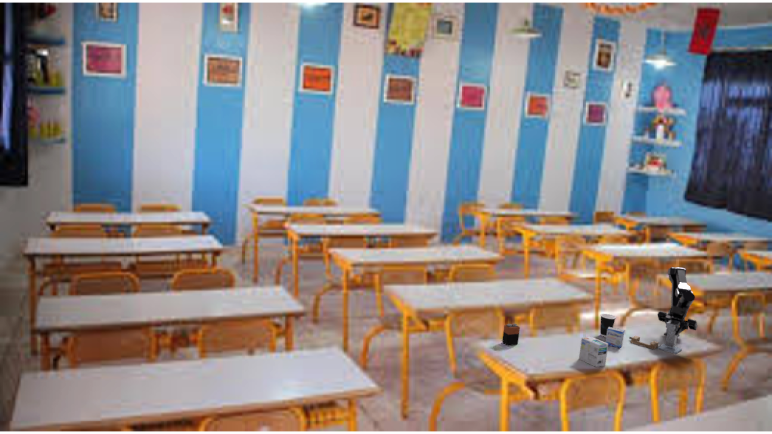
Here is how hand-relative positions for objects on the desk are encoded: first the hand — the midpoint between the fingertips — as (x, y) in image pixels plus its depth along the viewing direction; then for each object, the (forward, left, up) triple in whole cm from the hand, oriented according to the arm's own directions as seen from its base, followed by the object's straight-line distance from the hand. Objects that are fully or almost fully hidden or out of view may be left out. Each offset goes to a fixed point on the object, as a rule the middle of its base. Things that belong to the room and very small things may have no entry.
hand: (671, 334), depth 332 cm
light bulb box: (+52, -18, -9) cm, 56 cm away
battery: (+63, -56, -9) cm, 85 cm away
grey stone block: (+1, 0, -7) cm, 7 cm away
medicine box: (+19, -21, -9) cm, 30 cm away
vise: (+3, -12, -9) cm, 15 cm away
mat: (-1, 0, -8) cm, 9 cm away
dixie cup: (+8, -30, -9) cm, 33 cm away
